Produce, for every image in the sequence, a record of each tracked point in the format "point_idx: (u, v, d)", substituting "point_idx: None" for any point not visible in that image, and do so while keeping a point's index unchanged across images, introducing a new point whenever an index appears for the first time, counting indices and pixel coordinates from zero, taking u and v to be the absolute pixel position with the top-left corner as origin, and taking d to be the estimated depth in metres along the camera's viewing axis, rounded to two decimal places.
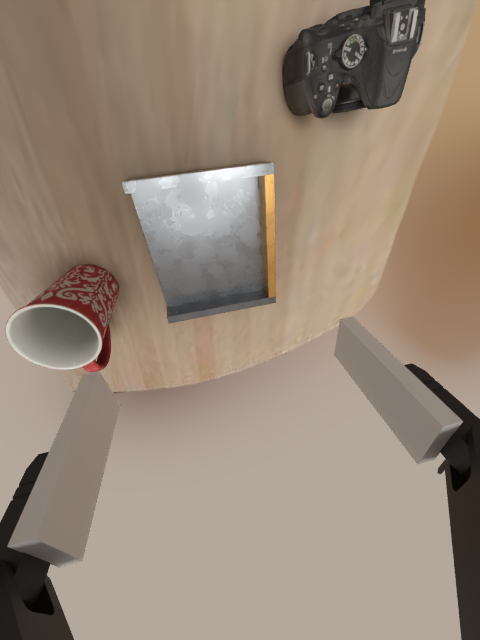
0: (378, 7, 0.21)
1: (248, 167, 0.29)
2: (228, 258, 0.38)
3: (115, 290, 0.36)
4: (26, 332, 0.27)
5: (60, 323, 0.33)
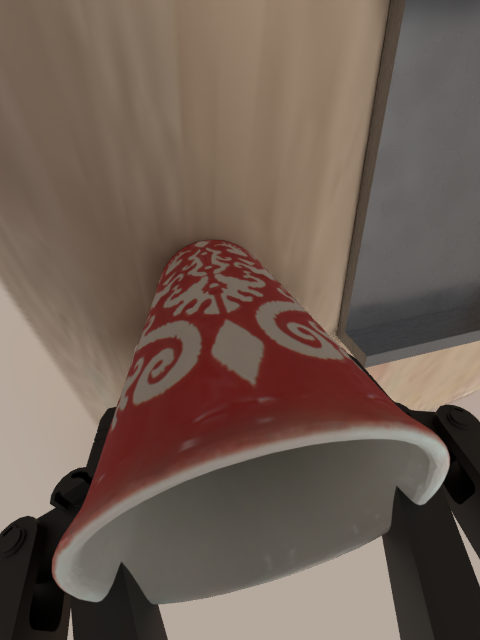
0: None
1: None
2: None
3: None
4: None
5: None
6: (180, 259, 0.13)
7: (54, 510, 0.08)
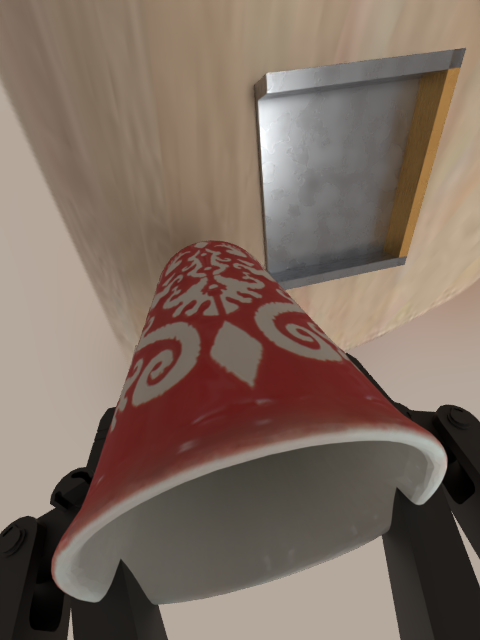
0: None
1: (432, 55, 0.21)
2: (353, 206, 0.30)
3: None
4: None
5: None
6: (180, 260, 0.13)
7: (54, 510, 0.08)
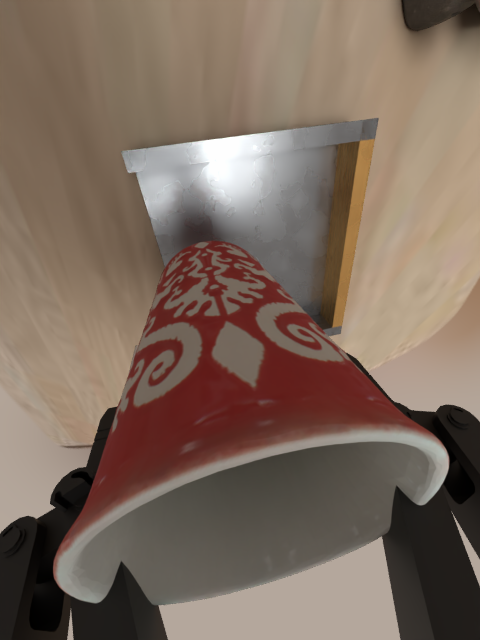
0: None
1: (336, 126, 0.17)
2: (277, 273, 0.26)
3: None
4: None
5: None
6: (180, 260, 0.13)
7: (54, 510, 0.08)
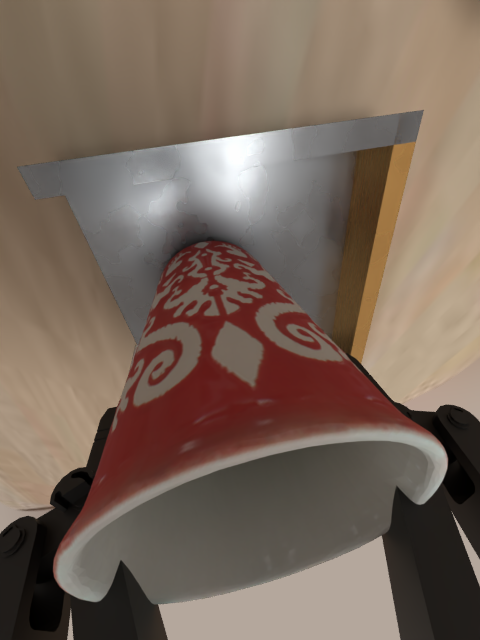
0: None
1: (359, 123, 0.11)
2: None
3: None
4: None
5: None
6: (180, 260, 0.13)
7: (54, 510, 0.08)
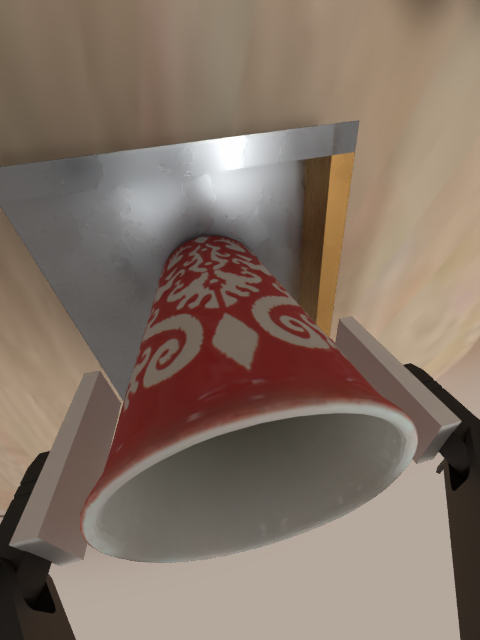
0: None
1: (292, 133, 0.11)
2: None
3: None
4: None
5: None
6: (181, 254, 0.13)
7: None
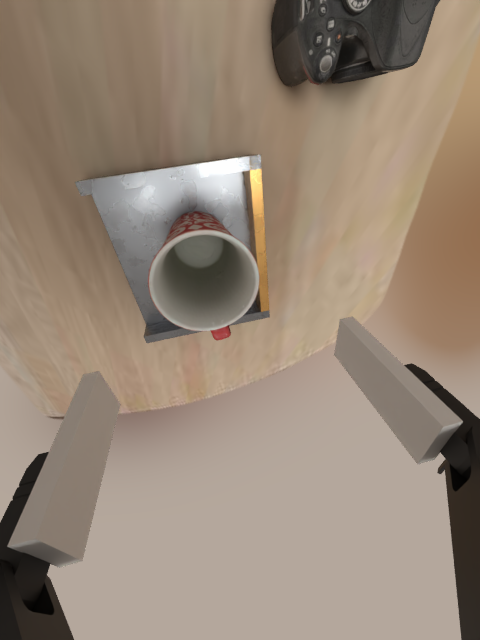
0: None
1: (229, 161, 0.24)
2: None
3: None
4: (161, 279, 0.21)
5: (176, 279, 0.26)
6: (179, 218, 0.27)
7: None
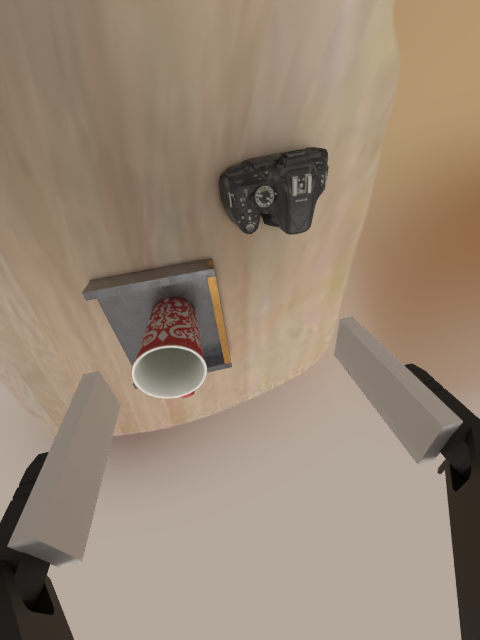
0: (281, 169, 0.25)
1: (191, 273, 0.34)
2: None
3: None
4: (140, 367, 0.31)
5: (155, 353, 0.36)
6: (157, 307, 0.37)
7: None
